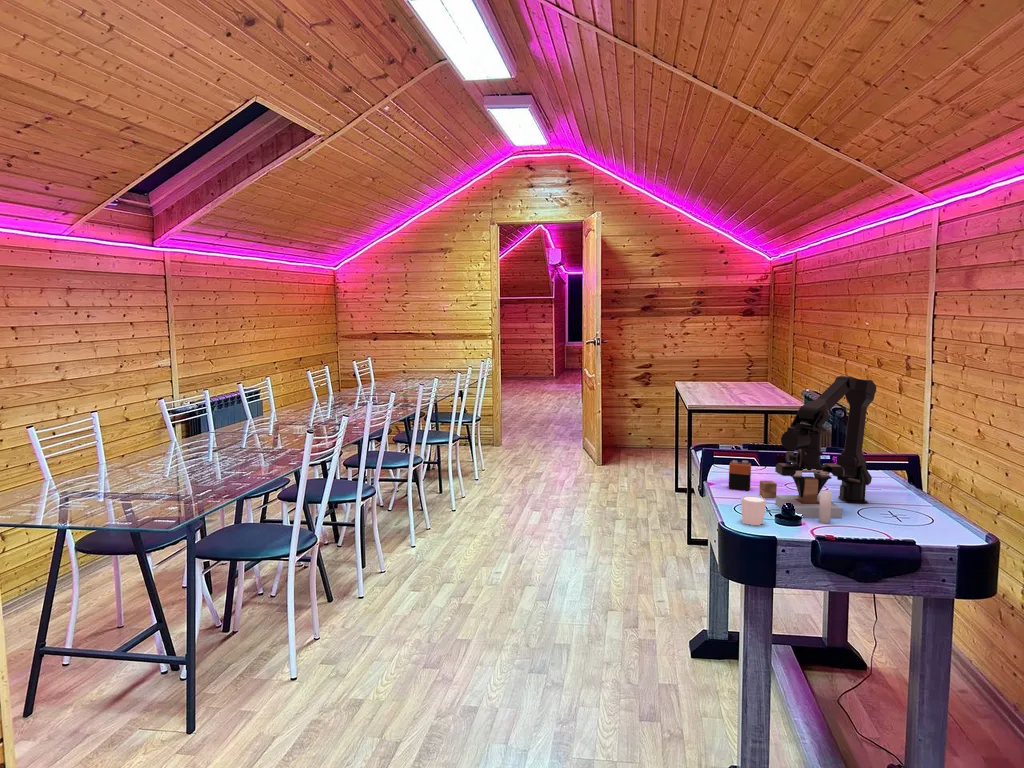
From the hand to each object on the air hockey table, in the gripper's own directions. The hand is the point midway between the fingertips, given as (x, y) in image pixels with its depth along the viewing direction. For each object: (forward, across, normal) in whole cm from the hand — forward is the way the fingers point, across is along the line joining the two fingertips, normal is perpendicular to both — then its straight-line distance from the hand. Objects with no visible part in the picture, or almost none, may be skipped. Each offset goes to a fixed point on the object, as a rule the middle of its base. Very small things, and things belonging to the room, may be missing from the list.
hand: (808, 497), depth 195 cm
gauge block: (+4, 0, +3) cm, 5 cm away
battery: (+5, +12, -26) cm, 29 cm away
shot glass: (+4, +21, +12) cm, 25 cm away
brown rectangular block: (+3, 0, 0) cm, 3 cm away
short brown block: (+4, +6, -16) cm, 18 cm away
